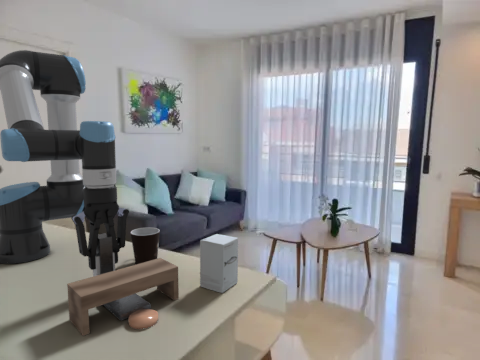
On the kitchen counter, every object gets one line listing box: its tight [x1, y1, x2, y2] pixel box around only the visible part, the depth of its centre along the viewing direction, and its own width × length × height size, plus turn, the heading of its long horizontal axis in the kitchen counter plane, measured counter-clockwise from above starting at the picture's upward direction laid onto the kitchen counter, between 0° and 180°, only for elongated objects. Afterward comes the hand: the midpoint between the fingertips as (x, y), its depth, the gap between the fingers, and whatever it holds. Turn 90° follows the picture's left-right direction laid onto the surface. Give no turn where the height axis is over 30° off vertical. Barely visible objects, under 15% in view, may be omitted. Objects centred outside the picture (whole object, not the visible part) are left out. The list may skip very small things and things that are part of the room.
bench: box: [66, 257, 180, 337], centre depth 75 cm, size 8×22×8 cm, turn 134°
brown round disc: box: [128, 308, 159, 330], centre depth 70 cm, size 6×6×1 cm
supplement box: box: [199, 233, 239, 294], centre depth 87 cm, size 7×7×13 cm
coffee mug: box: [130, 227, 161, 265], centre depth 103 cm, size 12×9×10 cm
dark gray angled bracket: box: [96, 232, 152, 321], centre depth 78 cm, size 18×7×14 cm, turn 44°
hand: (104, 278), depth 83 cm, fingers closed on dark gray angled bracket, 3 cm apart
